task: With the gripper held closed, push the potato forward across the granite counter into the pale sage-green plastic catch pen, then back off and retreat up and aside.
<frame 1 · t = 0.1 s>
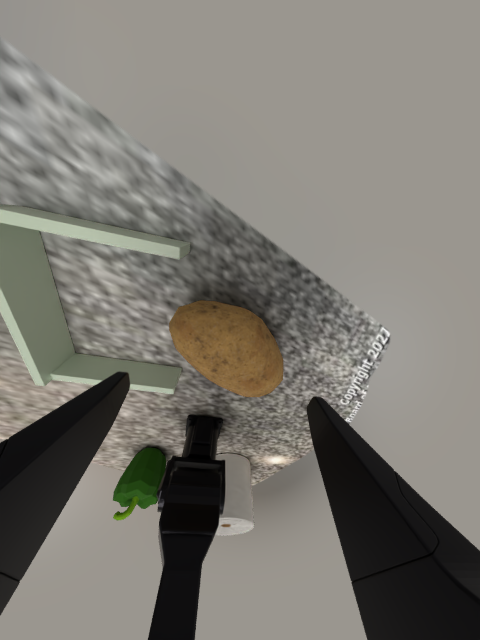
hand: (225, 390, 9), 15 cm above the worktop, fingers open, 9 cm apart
bell pepper: (152, 451, 39), on the worktop
catch pen: (120, 309, 22), on the worktop
toilet tissue: (226, 464, 43), on the worktop
potato: (230, 326, 24), on the worktop
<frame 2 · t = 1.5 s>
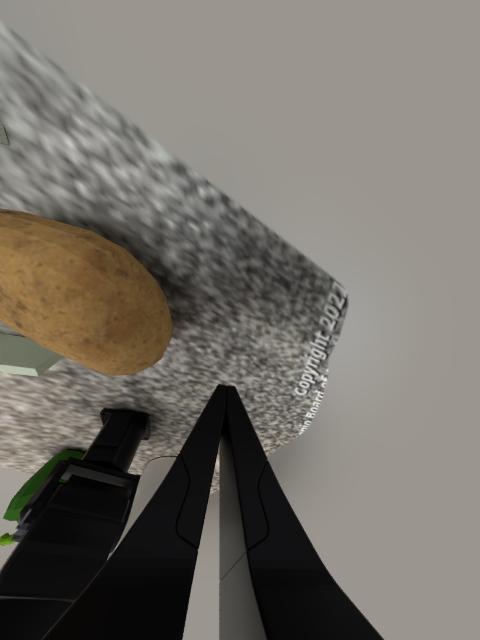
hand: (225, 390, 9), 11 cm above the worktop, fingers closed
bell pepper: (76, 455, 32), on the worktop
toilet tissue: (172, 469, 36), on the worktop
potato: (118, 280, 17), on the worktop
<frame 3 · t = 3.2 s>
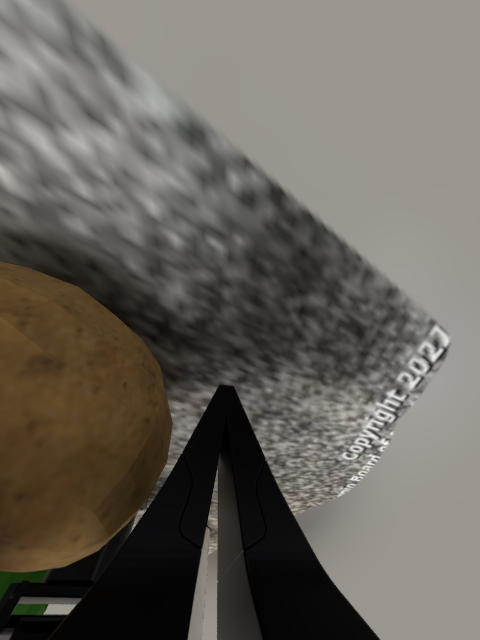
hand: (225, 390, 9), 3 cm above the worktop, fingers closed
bell pepper: (56, 520, 26), on the worktop
toilet tissue: (175, 529, 29), on the worktop
potato: (81, 327, 10), on the worktop, touching gripper
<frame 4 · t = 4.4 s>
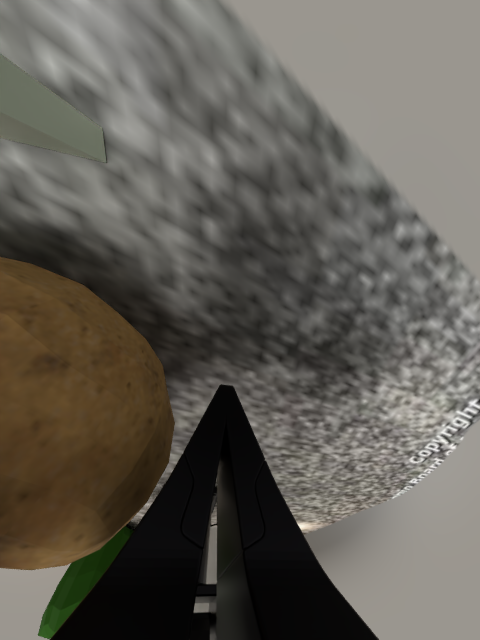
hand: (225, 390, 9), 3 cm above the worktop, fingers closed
bell pepper: (117, 525, 27), on the worktop
toilet tissue: (226, 532, 30), on the worktop
potato: (84, 324, 10), on the worktop, touching gripper
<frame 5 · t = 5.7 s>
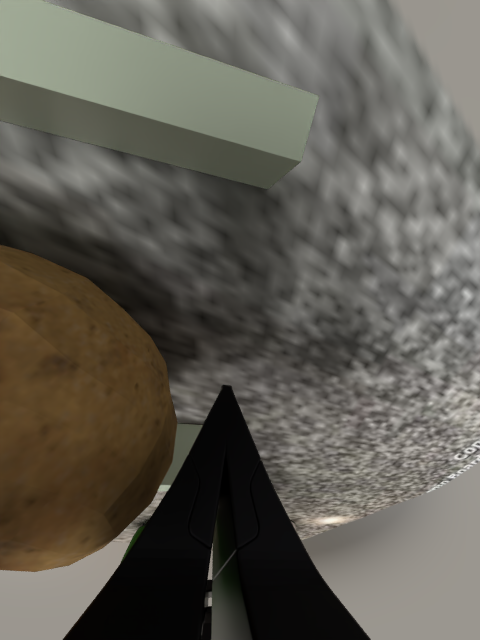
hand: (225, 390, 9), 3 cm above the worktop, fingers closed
catch pen: (96, 331, 10), on the worktop
potato: (82, 317, 10), on the worktop, touching catch pen, gripper
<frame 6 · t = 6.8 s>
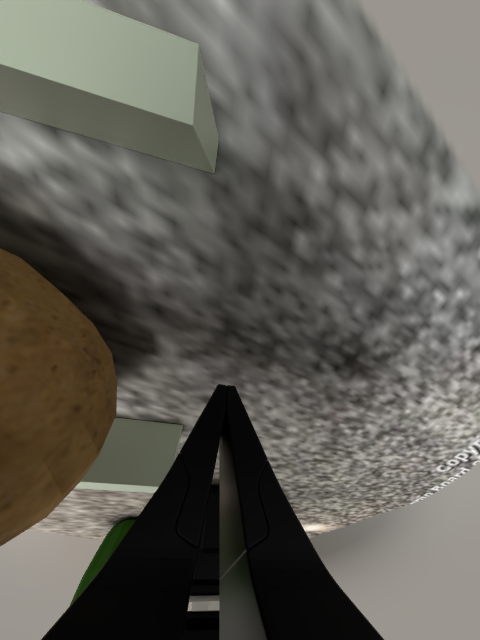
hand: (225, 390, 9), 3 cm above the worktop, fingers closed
bell pepper: (136, 521, 27), on the worktop
catch pen: (48, 321, 10), on the worktop
potato: (34, 304, 10), on the worktop
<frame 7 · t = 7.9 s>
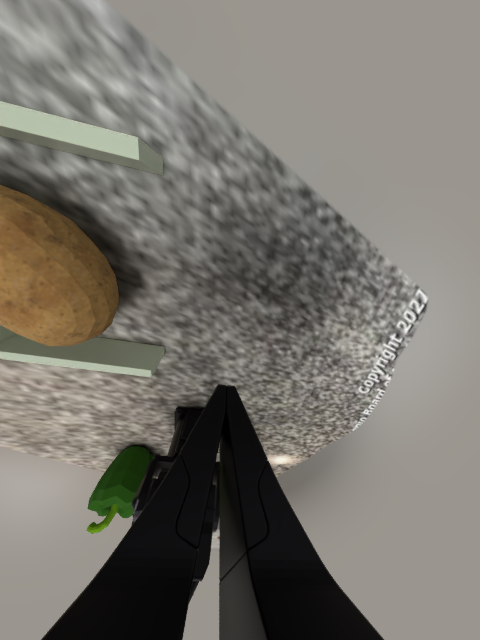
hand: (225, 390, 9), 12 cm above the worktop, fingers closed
bell pepper: (138, 451, 34), on the worktop
catch pen: (78, 264, 17), on the worktop
potato: (70, 254, 17), on the worktop
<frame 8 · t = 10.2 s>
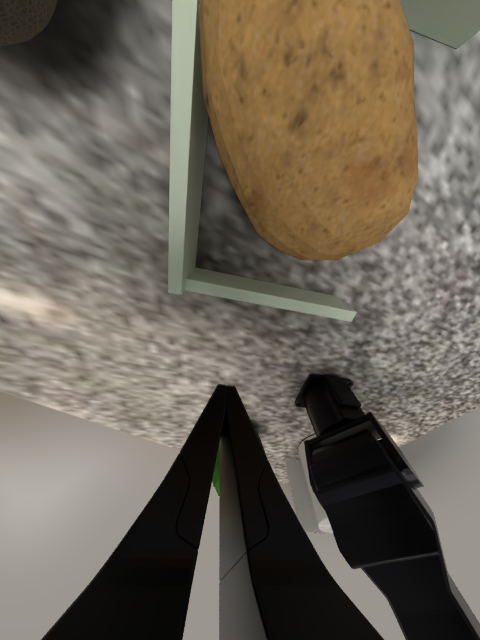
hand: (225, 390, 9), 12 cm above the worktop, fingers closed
catch pen: (291, 180, 14), on the worktop
toilet tissue: (322, 446, 35), on the worktop
potato: (285, 166, 14), on the worktop
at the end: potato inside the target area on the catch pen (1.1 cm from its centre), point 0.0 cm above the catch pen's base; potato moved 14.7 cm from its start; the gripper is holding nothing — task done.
